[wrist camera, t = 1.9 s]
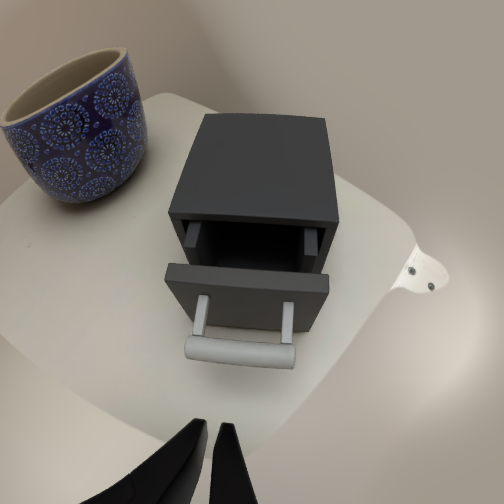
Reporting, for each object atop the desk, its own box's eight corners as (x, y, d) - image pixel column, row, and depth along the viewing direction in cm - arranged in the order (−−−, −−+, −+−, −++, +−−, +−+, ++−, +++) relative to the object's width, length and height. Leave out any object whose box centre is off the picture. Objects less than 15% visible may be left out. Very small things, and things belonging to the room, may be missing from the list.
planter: (116, 124, 40) (90, 47, 27) (183, 153, 35) (158, 46, 22) (37, 190, 33) (-9, 115, 21) (82, 243, 28) (9, 142, 15)
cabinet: (315, 288, 25) (339, 222, 17) (196, 279, 25) (167, 212, 17) (312, 190, 30) (324, 118, 22) (217, 185, 31) (205, 113, 23)
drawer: (306, 381, 20) (329, 364, 13) (184, 369, 20) (148, 347, 14) (309, 224, 27) (321, 162, 21) (212, 218, 28) (199, 157, 21)
